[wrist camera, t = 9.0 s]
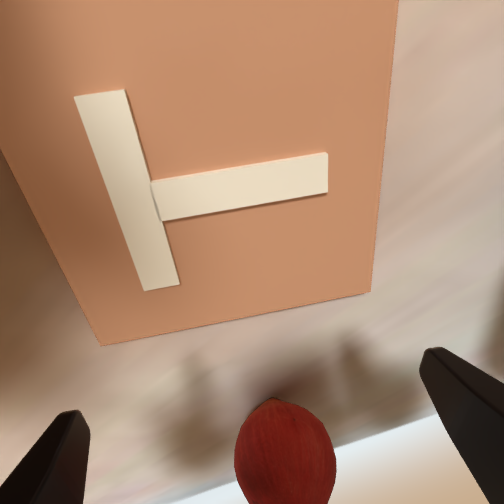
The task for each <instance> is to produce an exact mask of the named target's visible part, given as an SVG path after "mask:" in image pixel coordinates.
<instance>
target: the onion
mask: <svg viewBox="0 0 504 504" xmlns="http://www.w3.org/2000/svg"><path fill="white" fill-rule="evenodd" d="M234 468H235V472H236V477H237V481H238V483H239V485H240V487H241V489H242V491H243V494H244V495H245V497H246V499H247V501H248V503H249V504H328V501H329V498H330V496H331V493H332V490H333V487H334V484H335V478H336V457H335V453H334V449H333V446H332V443H331V440H330V437H329V435H328V433H327V431H326V429H325V427H324V425H323V423H322V422H321V421H320V420H319V419H318V418H316V417H315V416H314V415H313V414H312V413H311V412H309V411H308V410H306V409H305V408H302V407H300V406H298V405H295V404H291V403H287V402H283V401H281V400H279V399H275V398H271V399H268V400H267V401H265V402H264V403H263V404H262V405H261V406H259V407H258V408H257V409H256V410H255V411H254V412H253V413H252V414H251V415H250V416H249V417H248V418H247V419H246V421H245V422H244V424H243V425H242V427H241V429H240V432H239V435H238V438H237V442H236V446H235V452H234Z"/></svg>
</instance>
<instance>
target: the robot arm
mask: <svg viewBox="0 0 504 504" xmlns="http://www.w3.org/2000/svg"><path fill="white" fill-rule="evenodd" d="M419 373H420V377H421V379H422V381H423V383H424V385H425V387H426V389H427V392H428V394H429V396H430V398H431V400H432V402H433V404H434V406H435V408H436V410H437V412H438V415H439V417H440V419H441V421H442V423H443V425H444V427H445V429H446V431H447V433H448V434H449V436H450V438H451V440H452V441H453V443H454V445H455V446H456V448H457V450H458V451H459V453H460V455H461V457H462V458H463V460H464V461H465V463H466V465H467V467H468V468H469V470H470V472H471V473H472V475H473V477H474V478H475V480H476V482H477V483H478V485H479V487H480V488H481V490H482V492H483V493H484V495H485V497H486V498H487V500H488V502H489V503H490V504H504V384H503V383H502V382H500V381H498V380H497V379H495V378H493V377H492V376H490V375H488V374H487V373H485V372H483V371H482V370H480V369H478V368H477V367H475V366H473V365H472V364H470V363H468V362H467V361H465V360H463V359H462V358H460V357H458V356H457V355H455V354H453V353H452V352H450V351H448V350H447V349H445V348H443V347H434V348H428V349H426V350H425V352H424V355H423V358H422V361H421V364H420V368H419ZM89 446H90V429H89V427H88V425H87V423H86V421H85V419H84V417H83V415H82V413H81V412H80V411H79V410H71V411H66V412H62V413H60V414H59V415H58V416H57V417H56V418H55V419H54V421H53V422H52V423H51V424H50V426H49V427H48V428H47V429H46V431H45V432H44V433H43V434H42V435H41V437H40V438H39V439H38V440H37V442H36V443H35V444H34V445H33V447H32V448H31V449H30V450H29V452H28V453H27V454H26V455H25V457H24V458H23V459H22V460H21V462H20V463H19V464H18V465H17V466H16V468H15V469H14V470H13V471H12V473H11V474H10V475H9V476H8V478H7V479H6V480H5V481H4V483H3V484H2V485H1V486H0V504H83V499H84V491H85V482H86V473H87V464H88V455H89Z"/></svg>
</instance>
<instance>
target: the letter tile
mask: <svg viewBox="0 0 504 504" xmlns="http://www.w3.org/2000/svg"><path fill="white" fill-rule="evenodd" d="M398 2H399V0H0V149H1V151H2V153H3V155H4V157H5V159H6V161H7V163H8V165H9V167H10V169H11V171H12V173H13V175H14V177H15V179H16V181H17V183H18V185H19V187H20V189H21V191H22V193H23V195H24V197H25V199H26V201H27V203H28V204H29V206H30V208H31V210H32V212H33V214H34V216H35V218H36V220H37V222H38V224H39V226H40V228H41V230H42V232H43V234H44V236H45V238H46V240H47V242H48V244H49V246H50V248H51V250H52V252H53V254H54V256H55V258H56V259H57V261H58V263H59V265H60V267H61V269H62V271H63V273H64V275H65V277H66V279H67V281H68V283H69V285H70V287H71V289H72V291H73V293H74V295H75V297H76V299H77V301H78V303H79V305H80V307H81V309H82V311H83V313H84V314H85V316H86V318H87V320H88V322H89V324H90V326H91V328H92V330H93V332H94V334H95V336H96V338H97V340H98V342H99V344H100V346H105V345H110V344H115V343H120V342H125V341H130V340H135V339H140V338H145V337H150V336H155V335H160V334H164V333H169V332H174V331H179V330H184V329H189V328H194V327H199V326H204V325H209V324H214V323H219V322H224V321H229V320H234V319H239V318H244V317H248V316H253V315H258V314H263V313H268V312H273V311H278V310H283V309H288V308H293V307H298V306H303V305H308V304H313V303H318V302H323V301H327V300H332V299H337V298H342V297H347V296H352V295H357V294H362V293H367V292H370V291H371V281H372V271H373V260H374V250H375V240H376V229H377V219H378V209H379V198H380V188H381V178H382V167H383V157H384V147H385V136H386V126H387V116H388V105H389V95H390V85H391V74H392V64H393V54H394V44H395V33H396V23H397V13H398Z"/></svg>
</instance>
